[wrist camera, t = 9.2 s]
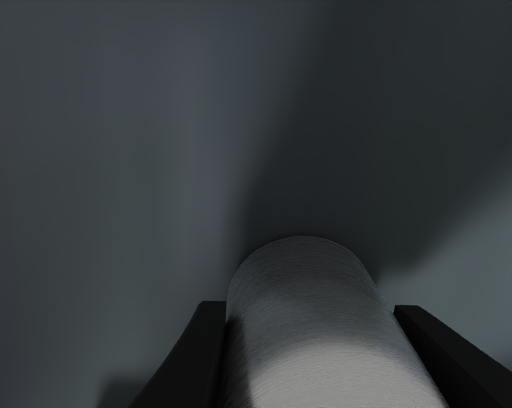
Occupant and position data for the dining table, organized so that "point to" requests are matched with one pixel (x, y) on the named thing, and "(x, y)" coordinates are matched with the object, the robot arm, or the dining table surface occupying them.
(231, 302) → the cylinder
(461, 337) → the robot arm
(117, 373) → the dining table surface
